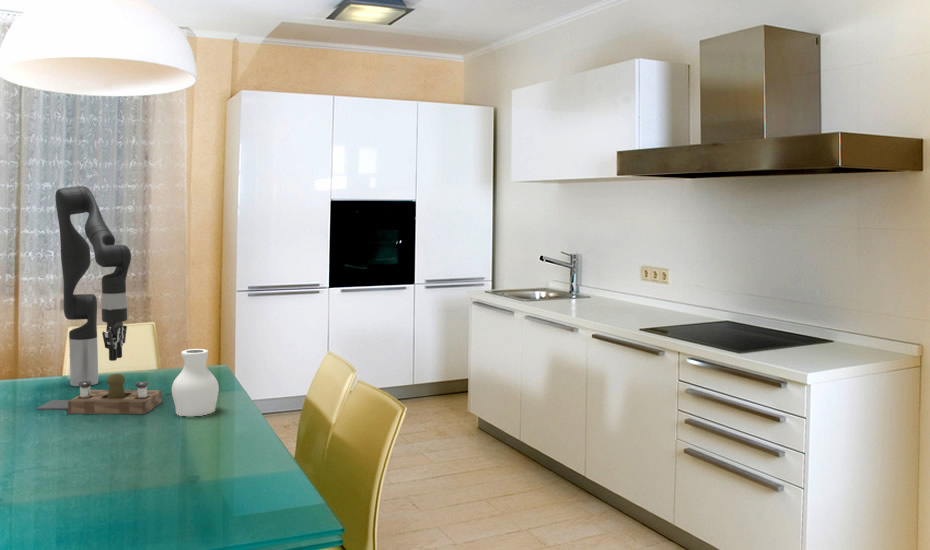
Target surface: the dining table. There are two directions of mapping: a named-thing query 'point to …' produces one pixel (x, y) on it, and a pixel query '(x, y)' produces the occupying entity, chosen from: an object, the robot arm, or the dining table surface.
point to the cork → (116, 386)
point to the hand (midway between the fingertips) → (115, 358)
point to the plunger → (85, 389)
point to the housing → (115, 403)
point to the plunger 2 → (141, 390)
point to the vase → (195, 385)
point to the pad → (55, 405)
